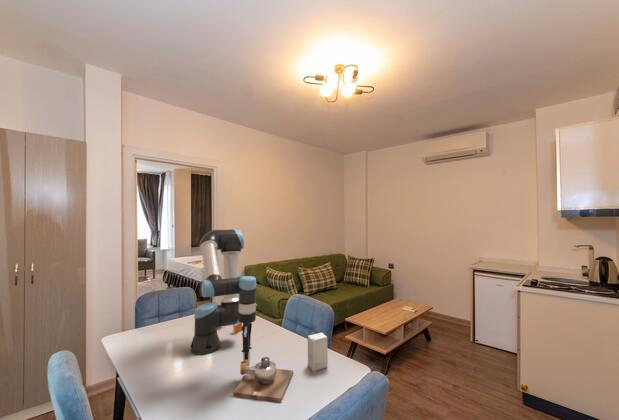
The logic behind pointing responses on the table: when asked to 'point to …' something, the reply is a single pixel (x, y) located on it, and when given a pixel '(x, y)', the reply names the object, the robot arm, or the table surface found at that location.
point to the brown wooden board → (264, 386)
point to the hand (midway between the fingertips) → (246, 365)
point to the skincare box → (317, 351)
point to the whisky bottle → (237, 328)
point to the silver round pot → (260, 370)
